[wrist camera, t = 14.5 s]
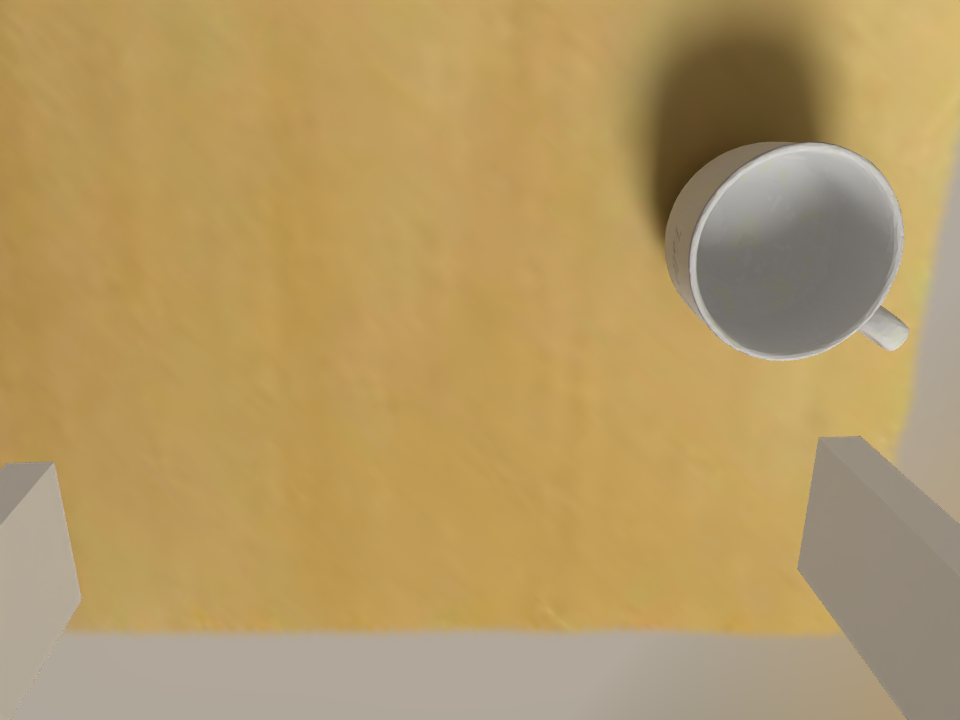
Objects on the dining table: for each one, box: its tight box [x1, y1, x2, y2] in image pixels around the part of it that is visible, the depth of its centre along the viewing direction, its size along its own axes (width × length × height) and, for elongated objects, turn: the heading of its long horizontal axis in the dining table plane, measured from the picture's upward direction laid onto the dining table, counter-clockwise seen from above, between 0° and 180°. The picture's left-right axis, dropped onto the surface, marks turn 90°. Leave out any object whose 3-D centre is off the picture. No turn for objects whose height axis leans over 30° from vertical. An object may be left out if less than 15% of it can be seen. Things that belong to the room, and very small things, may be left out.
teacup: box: [665, 142, 909, 361], centre depth 45 cm, size 14×11×8 cm
